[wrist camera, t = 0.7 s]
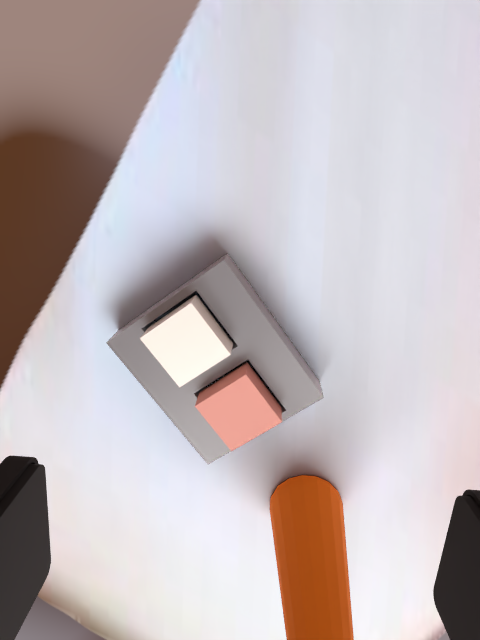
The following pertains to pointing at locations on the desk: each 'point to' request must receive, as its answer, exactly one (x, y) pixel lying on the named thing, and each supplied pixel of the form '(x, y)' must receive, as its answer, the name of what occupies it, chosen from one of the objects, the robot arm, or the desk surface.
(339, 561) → the spray bottle
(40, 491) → the robot arm
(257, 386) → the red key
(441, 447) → the desk surface
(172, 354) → the white key
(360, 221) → the desk surface
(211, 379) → the key panel
